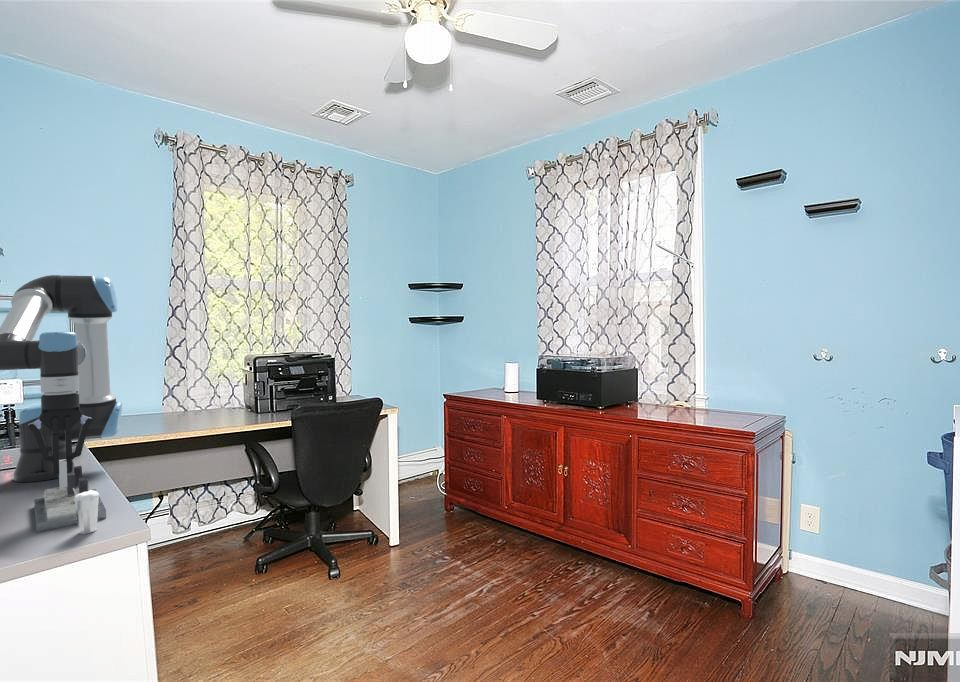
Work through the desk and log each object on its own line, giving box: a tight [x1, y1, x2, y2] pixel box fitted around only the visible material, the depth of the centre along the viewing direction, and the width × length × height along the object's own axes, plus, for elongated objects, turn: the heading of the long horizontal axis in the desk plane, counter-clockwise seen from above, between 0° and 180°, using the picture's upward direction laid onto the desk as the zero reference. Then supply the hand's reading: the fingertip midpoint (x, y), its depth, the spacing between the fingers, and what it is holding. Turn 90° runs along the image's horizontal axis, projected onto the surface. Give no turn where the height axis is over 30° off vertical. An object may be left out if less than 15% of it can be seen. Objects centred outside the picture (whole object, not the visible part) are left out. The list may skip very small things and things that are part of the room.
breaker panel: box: [33, 465, 107, 533], centre depth 132 cm, size 24×13×10 cm, turn 41°
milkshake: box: [73, 488, 100, 535], centre depth 119 cm, size 5×5×10 cm
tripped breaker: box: [67, 473, 76, 495], centre depth 133 cm, size 3×2×5 cm, turn 41°
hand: (63, 486), depth 132 cm, fingers closed
